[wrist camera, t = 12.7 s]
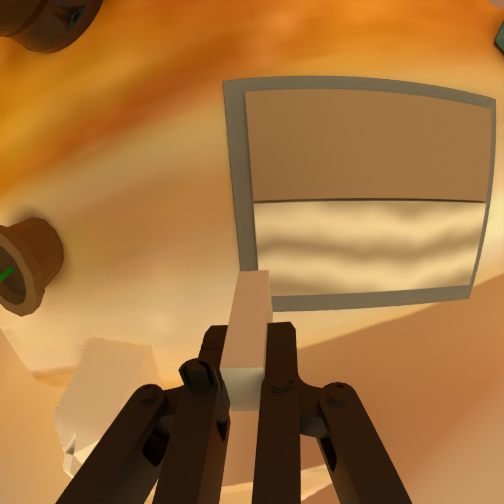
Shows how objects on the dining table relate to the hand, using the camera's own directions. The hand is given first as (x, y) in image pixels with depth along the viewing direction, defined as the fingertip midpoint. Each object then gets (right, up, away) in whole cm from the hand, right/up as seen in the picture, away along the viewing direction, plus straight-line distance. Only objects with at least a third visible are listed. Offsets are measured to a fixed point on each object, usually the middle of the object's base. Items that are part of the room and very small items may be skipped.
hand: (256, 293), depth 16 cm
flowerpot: (-35, +3, +27) cm, 44 cm away
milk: (-23, -19, +36) cm, 47 cm away
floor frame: (+15, +9, +19) cm, 26 cm away
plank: (+15, +3, +20) cm, 26 cm away
